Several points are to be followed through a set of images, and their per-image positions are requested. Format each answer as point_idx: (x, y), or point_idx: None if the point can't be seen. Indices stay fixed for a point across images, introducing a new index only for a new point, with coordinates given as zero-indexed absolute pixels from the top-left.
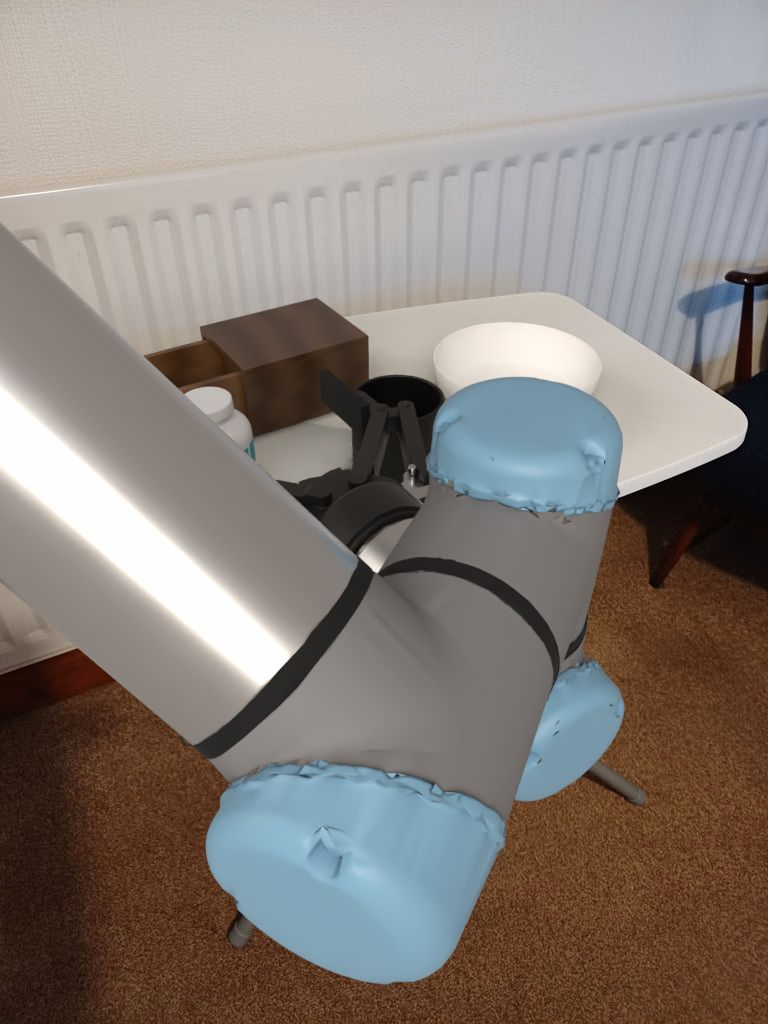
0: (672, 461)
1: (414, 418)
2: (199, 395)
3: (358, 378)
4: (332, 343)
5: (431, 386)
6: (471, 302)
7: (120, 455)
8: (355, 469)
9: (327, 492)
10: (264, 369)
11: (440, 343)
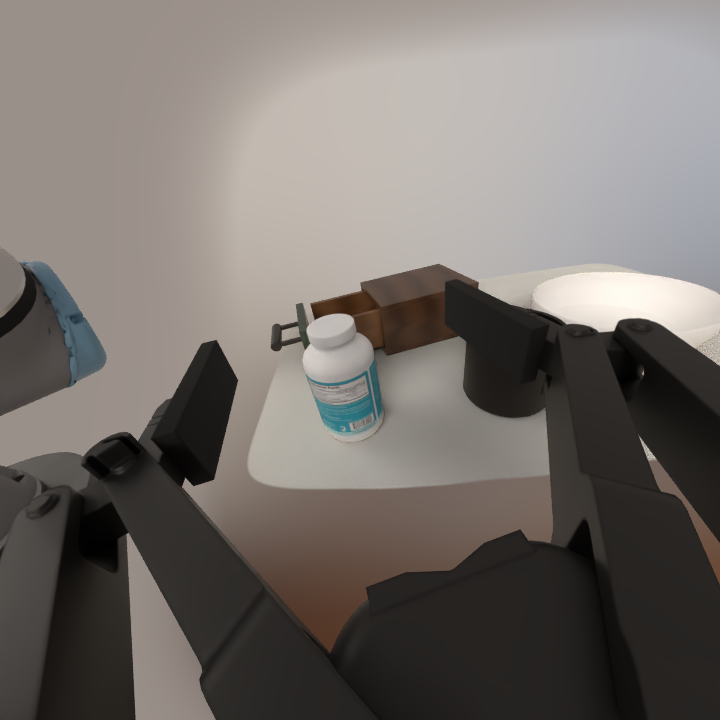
0: None
1: (699, 359)
2: (327, 320)
3: None
4: None
5: (548, 317)
6: (541, 270)
7: None
8: (644, 631)
9: None
10: (396, 306)
11: (536, 288)
